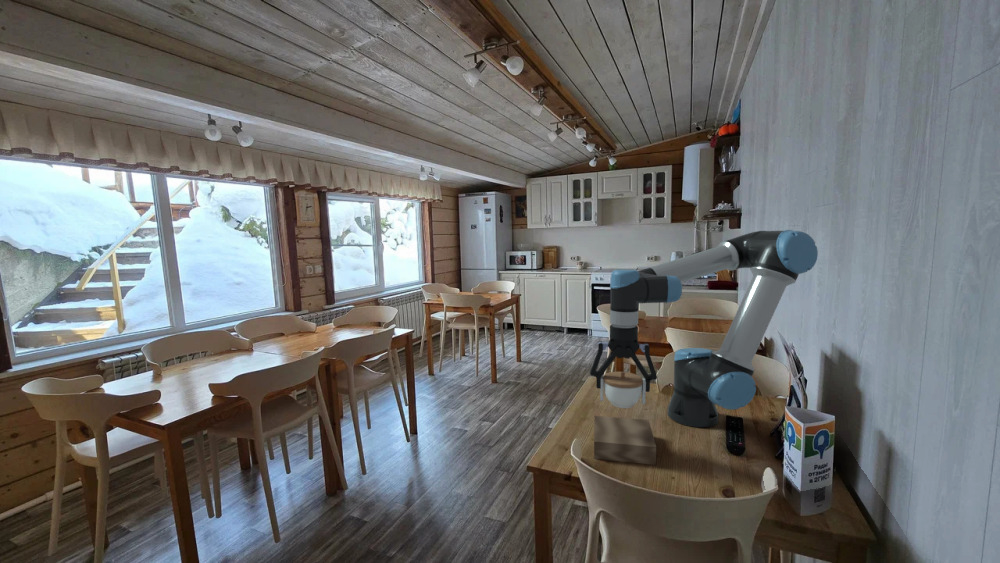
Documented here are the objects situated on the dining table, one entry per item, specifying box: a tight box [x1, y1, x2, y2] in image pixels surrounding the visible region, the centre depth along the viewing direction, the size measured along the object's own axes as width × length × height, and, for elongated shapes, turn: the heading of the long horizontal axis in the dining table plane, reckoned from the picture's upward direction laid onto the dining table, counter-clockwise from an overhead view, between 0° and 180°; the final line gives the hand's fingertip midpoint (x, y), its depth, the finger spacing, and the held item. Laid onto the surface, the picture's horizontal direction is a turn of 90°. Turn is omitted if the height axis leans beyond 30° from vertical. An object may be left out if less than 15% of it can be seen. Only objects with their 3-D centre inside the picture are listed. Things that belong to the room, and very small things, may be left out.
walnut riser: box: [593, 415, 657, 466], centre depth 117 cm, size 16×16×5 cm
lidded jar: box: [602, 371, 643, 409], centre depth 116 cm, size 11×11×9 cm
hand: (622, 400), depth 116 cm, fingers closed on lidded jar, 11 cm apart
